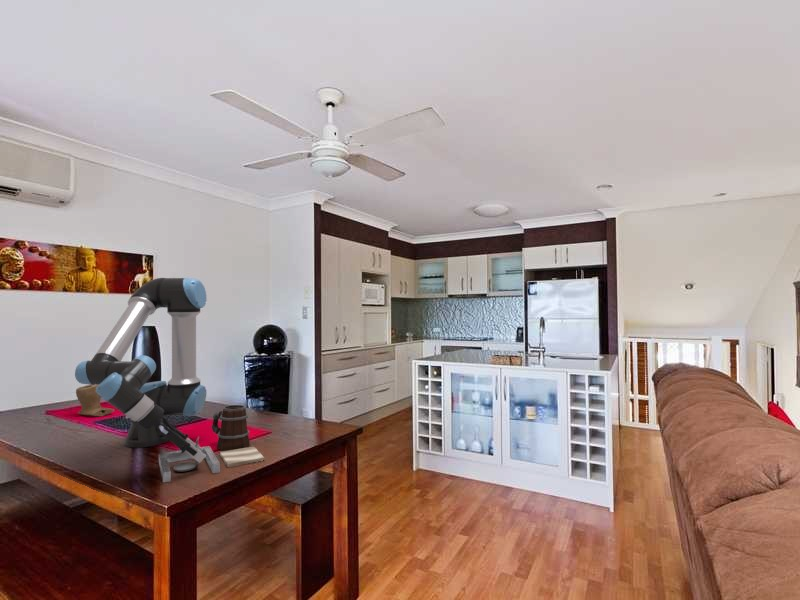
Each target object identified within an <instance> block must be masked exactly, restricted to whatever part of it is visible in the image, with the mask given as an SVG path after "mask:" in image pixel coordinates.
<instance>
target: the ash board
mask: <svg viewBox="0 0 800 600" xmlns="http://www.w3.org/2000/svg"><path fill="white" fill-rule="evenodd" d="M219 456H220V458H221V459H222V461H223V462H224V464H225V466H226V467H227V468H234V467H238V466H245V465H249V464H248V463H250V464H254V463H253V462H256V463H259V462H258V461H261V462H264V461H265V456H263V454H262V453H261V452H260V451H259V450H258V449H257V448H256V447H255V446H247V447H245V448H241V449H235V450H229V451H223V450H222V451H220V452H219ZM263 460H264V461H263ZM244 464H245V465H244Z"/></svg>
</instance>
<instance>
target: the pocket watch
mask: <svg viewBox="0 0 800 600" xmlns="http://www.w3.org/2000/svg"><path fill="white" fill-rule="evenodd" d="M199 439H200V436H197V438H196V440H195V444H196V445H195V447H196V448H197V449H198V450H199V447H200V444H199ZM198 465H200V463H199V462H198V461H196V460H195V459H194V462H191V461H189V462H182V463H178V464H176V465H174V466H173V470H174V471H175V472H179V473H180V472H181V473H182V472H188V471H191V470H194V469H195V468H196V467H197V466H198Z"/></svg>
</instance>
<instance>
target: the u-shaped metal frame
mask: <svg viewBox="0 0 800 600" xmlns="http://www.w3.org/2000/svg"><path fill="white" fill-rule="evenodd" d="M200 447H201V446H200ZM201 448H202V449H203V450H202V451H201V452H202V453H203V454H205V455H206V457H205V458H204V459H205V461H206V464H207V465H208V467H209V469H210V470H211V473H212V474H218V473H221V472H220V471H221V462H220V461H219V459H218V458H217V456H216V454H215V453H214V451H213V450H212V448H211V446H210V445H208V446H202V447H201ZM181 452H182V451H181V449H179V450H174V451H168V452H162V453H158V465H159V470H160V476H161V479H162V483H163V484H164V483H170V482H171V481H172V480H171V479H172V478H171V477H172V475H171V473H172V471H171V467H170V464H171V463H175V462H182V461H183V462H184V461H188V460H195V459H194V458H192V457H191V456H190V455H189V454H187V453H186V452H184V453H181Z"/></svg>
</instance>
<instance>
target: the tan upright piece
mask: <svg viewBox="0 0 800 600" xmlns="http://www.w3.org/2000/svg"><path fill="white" fill-rule="evenodd" d="M97 386H98V385H89V384H85V385H82V386H79V387H77V388H76V390H75V395H76V398H77V400H78V402H79V404H80V406H81V409H80V410H79V411H78V412H77V414H78V415H83V416H93V417H104V416H107V415H110V414H112V413H113V412H115V409H114V408H109V407H102V406H101V399H102V397H101V396H100V395H98V394H97V393H96V388H97Z"/></svg>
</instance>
